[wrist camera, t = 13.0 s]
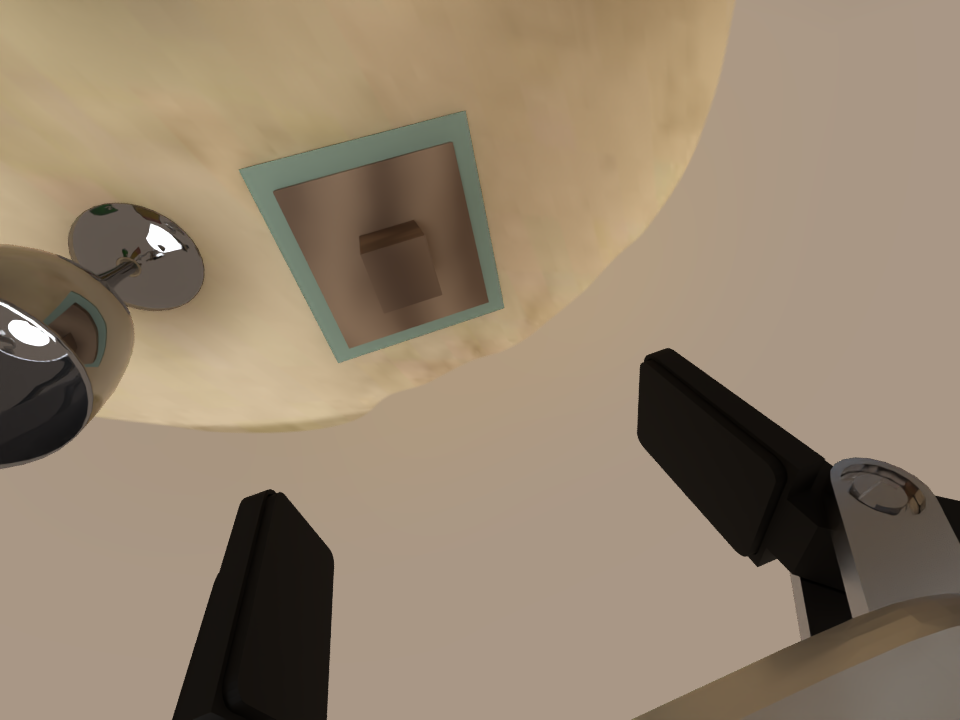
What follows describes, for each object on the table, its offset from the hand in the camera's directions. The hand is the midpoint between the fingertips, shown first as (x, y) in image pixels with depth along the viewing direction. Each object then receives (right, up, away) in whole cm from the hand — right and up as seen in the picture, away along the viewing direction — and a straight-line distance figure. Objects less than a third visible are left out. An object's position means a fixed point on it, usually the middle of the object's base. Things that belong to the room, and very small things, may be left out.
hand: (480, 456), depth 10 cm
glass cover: (-6, +11, +19) cm, 23 cm away
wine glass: (-23, +9, +16) cm, 29 cm away
